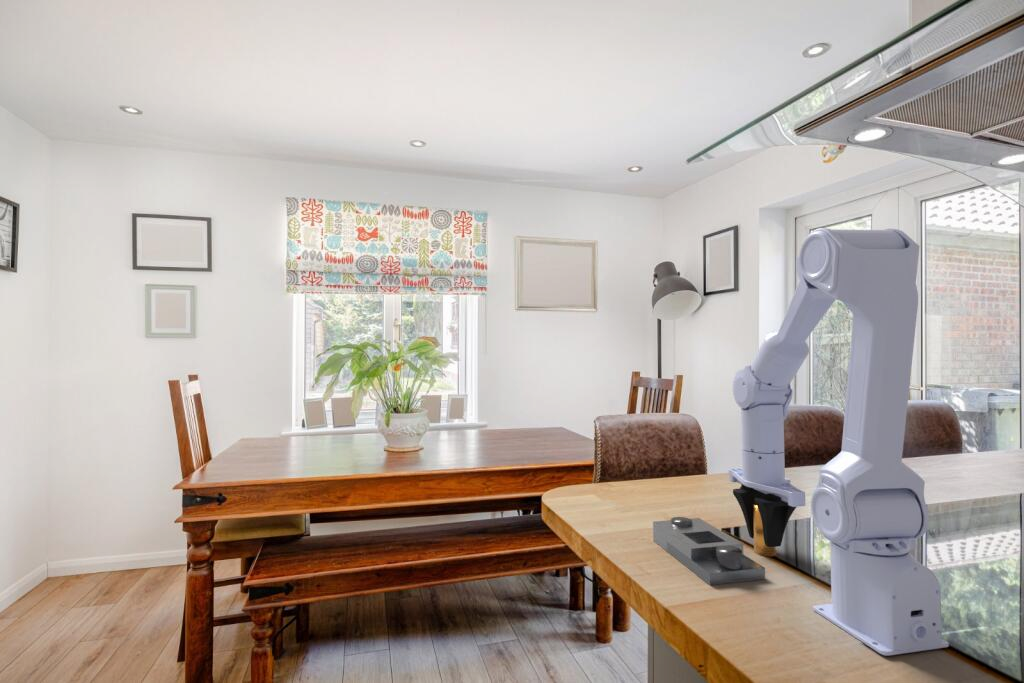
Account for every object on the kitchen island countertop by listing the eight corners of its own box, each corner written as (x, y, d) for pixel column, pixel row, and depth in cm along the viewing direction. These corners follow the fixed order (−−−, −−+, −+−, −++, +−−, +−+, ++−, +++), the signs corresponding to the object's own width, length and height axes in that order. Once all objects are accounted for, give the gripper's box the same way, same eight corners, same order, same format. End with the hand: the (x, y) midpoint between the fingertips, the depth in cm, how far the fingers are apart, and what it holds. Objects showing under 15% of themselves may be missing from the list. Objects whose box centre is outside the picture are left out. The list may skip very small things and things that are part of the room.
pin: (781, 555, 75) (779, 507, 76) (762, 557, 75) (761, 508, 75) (767, 547, 78) (766, 501, 79) (749, 549, 78) (748, 503, 78)
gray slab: (765, 579, 68) (764, 552, 68) (709, 585, 66) (709, 557, 66) (699, 536, 83) (698, 514, 84) (653, 540, 82) (652, 518, 82)
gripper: (823, 458, 71) (826, 558, 70) (755, 440, 85) (757, 523, 85) (778, 461, 69) (780, 562, 69) (716, 442, 84) (718, 526, 83)
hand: (764, 541), depth 77 cm, fingers open, 3 cm apart
